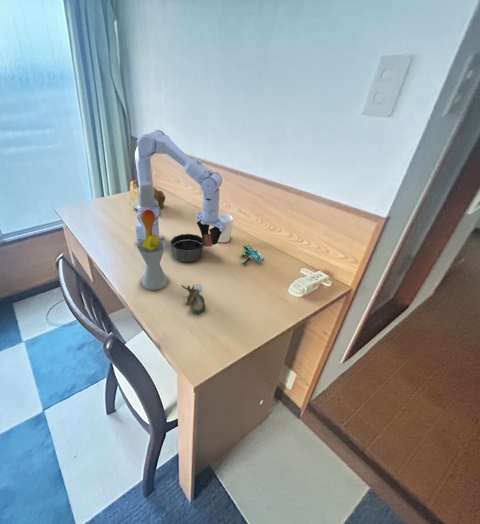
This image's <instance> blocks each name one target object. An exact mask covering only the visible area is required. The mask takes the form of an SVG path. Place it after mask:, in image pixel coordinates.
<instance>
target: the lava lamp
mask: <svg viewBox="0 0 480 524" xmlns="http://www.w3.org/2000/svg"><path fill="white" fill-rule="evenodd" d="M155 205H156V202H155V198H154V194H153V190H152V186H151V183H149V182H143V183H141V184H140V199H139V206H141V207H146V208H147V207H152V206H155ZM141 220H142V222H143V224H144V226H145V229H146V238H145V240H143V241H141V242H139V243H138V244H136V245H137V246H136V248H137V250H138V252H139V253H140V255H141V258H142V260H143V261H144V263H145V264H146V266H145V270H144V275H143V279H142V286H143V287H144V288H145V289H146V290H150V291H151V290H152V291H155V290H157V291H158V290H160V289H163V288H165V287H166V286H167V284H168V279H167V277H166V274H165V273H164V270H163V269H162V266H161V261H162V258H163V254H164V252H165V250H166V249H165V248H166V242H165V241H164V240H162V239H159V237H158V236H157V235H153V234H152V227H153V223H154V220H155V214H154V213H153V212H152V211H151V210H145V211H143V212H142V214H141Z"/></svg>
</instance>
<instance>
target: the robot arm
mask: <svg viewBox="0 0 480 524" xmlns="http://www.w3.org/2000/svg"><path fill="white" fill-rule="evenodd" d="M163 154H164V155H167V156H168V157H170V158H171V159H173V160H174V161H175V162H177V163H178V164H179V165H181V166H182V167H183V168H184V172H185V174H187V175H188V176H189V177H190V178H191V179H192V180H193V181H195V182H196V183H197V184H198V185H199V187H200V190H201V191H202V212H197V213H196V219H197V220H198V221H197V222H196V225H197V226H198V228H199V231H200V234H201V237H202V238H203V239H204V234H211V239H212V246H215V245H217V244H218V243H219V242H218V240H219V237H220V235H221V233H222V232H223V231H225V228H226V225H224V224H223V223H222V222H221V221H220V220H219V219H218V214H220V213H219V212H220V211H219V209H220V187H221V186H222V184H223V177H222V176H221V175H220V173H219V172H217V171H213V170H212V169H209V168H208V167H207V166H205V165H204V164H203V161H202V160H200V159H197V158H190V157H189V156H188V155H187V153H185V152H184V151H183V150H182V149H181V148H180V147H179V146H178V145H177V144H175V143H174V142H173V140H172V139H171V137H170V136H169V135H168V134H166V133H165V132H164V131H163V130H161V129H156V130H154V131H151V132H149V133H146V134H142V135H140V137H139V138H137V140H136V149H135V152H134V158H135V159H134V160H135V167H136V175H137V181H138V183H139V190H140V184H141V183H143V182H149V183H151V186H152V190H153V187H154V182H153V173H152V171H153V170H152V162H151V159H152V157H153V156H154V155H163ZM153 194H154V190H153ZM155 202H156V205H155V206H152V207H147V208H146V207H141V206H138V209H137V213H136V219H137V221H136V224H135V234H136V235H135V236H136V245H138V243H139V242H141V241H143V240H145V238H146V229H145V226H144V224H143V222H142V220H141V214H142V212H143V211H145V210H151V211H152V212H153V213H154V214H155V220H154V223H153V227H152V234H153V235H157V236H158V237H159V239H161V240H162V239H163V236H162V235H160V225H159V217H160V216H161V213H162V210H161V209H160V207H159V205H158V201H157V200H155ZM210 226H211V228H210Z"/></svg>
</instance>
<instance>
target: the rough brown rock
mask: <svg viewBox="0 0 480 524" xmlns="http://www.w3.org/2000/svg"><path fill="white" fill-rule="evenodd" d="M153 190H154V198H155V200H157V201H158V205H159V207H160V210H161V209H163V208H164V203H165V201H166V196H165V194H164V192H163V190H159V189H157V188H156V187H155V186H153ZM139 199H140V190H139V183H138V179H137V180H136V179H133V180H131V181H130V184H129V201H130V205H131V207H132V208H133V209H136V210H138V206H139Z"/></svg>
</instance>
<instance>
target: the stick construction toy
mask: <svg viewBox="0 0 480 524" xmlns="http://www.w3.org/2000/svg"><path fill="white" fill-rule="evenodd" d="M242 248H243V249H244V251H245V252H244V253H243V254H242V256H241V257H242V258H244V257H246V256H247V255H248V258H247V259H246V260H245V261H244V262H243V263H242V265H244V266H245V265H247V263H248V262H249V261H251V260H253V258H254V260H255V261H256V262H258V264H262V261H264V260H265V258H264V257H262V255H260V254H259V251H258V249H254V248H252V246H251V245H250V244H247V245H243V246H242ZM259 260H261V261H259Z"/></svg>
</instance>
